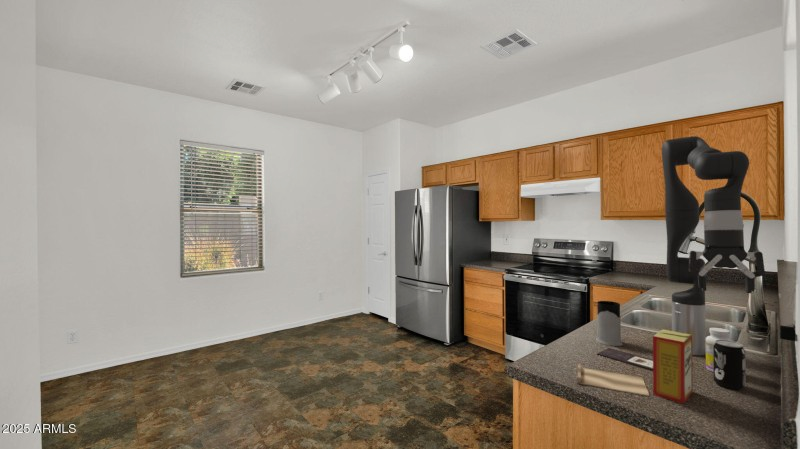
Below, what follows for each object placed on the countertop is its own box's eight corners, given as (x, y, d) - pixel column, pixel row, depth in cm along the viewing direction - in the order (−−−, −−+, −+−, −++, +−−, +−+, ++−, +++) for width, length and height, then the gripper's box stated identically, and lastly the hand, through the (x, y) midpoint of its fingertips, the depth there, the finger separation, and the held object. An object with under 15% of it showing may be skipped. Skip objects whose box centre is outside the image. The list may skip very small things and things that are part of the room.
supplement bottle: (727, 368, 110) (727, 327, 110) (740, 377, 104) (739, 333, 104) (701, 365, 113) (701, 325, 113) (712, 374, 106) (711, 331, 106)
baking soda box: (683, 403, 90) (683, 340, 90) (653, 394, 95) (652, 334, 95) (692, 391, 96) (692, 333, 96) (663, 383, 101) (663, 327, 101)
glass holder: (594, 342, 135) (593, 303, 135) (599, 333, 146) (599, 297, 146) (621, 347, 130) (620, 306, 130) (624, 337, 141) (624, 299, 141)
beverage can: (707, 380, 102) (707, 339, 102) (728, 379, 103) (727, 338, 103) (730, 391, 96) (730, 347, 95) (752, 390, 96) (752, 346, 96)
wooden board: (577, 368, 112) (577, 362, 112) (642, 378, 104) (642, 372, 104) (577, 383, 101) (577, 377, 101) (649, 396, 94) (649, 389, 94)
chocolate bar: (609, 348, 128) (668, 363, 113) (609, 350, 128) (668, 366, 113) (597, 353, 123) (657, 370, 108) (597, 356, 123) (657, 374, 108)
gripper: (757, 228, 90) (760, 292, 90) (686, 229, 98) (688, 287, 98) (766, 227, 84) (769, 296, 84) (689, 228, 92) (691, 291, 92)
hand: (725, 291), depth 91 cm, fingers open, 8 cm apart
